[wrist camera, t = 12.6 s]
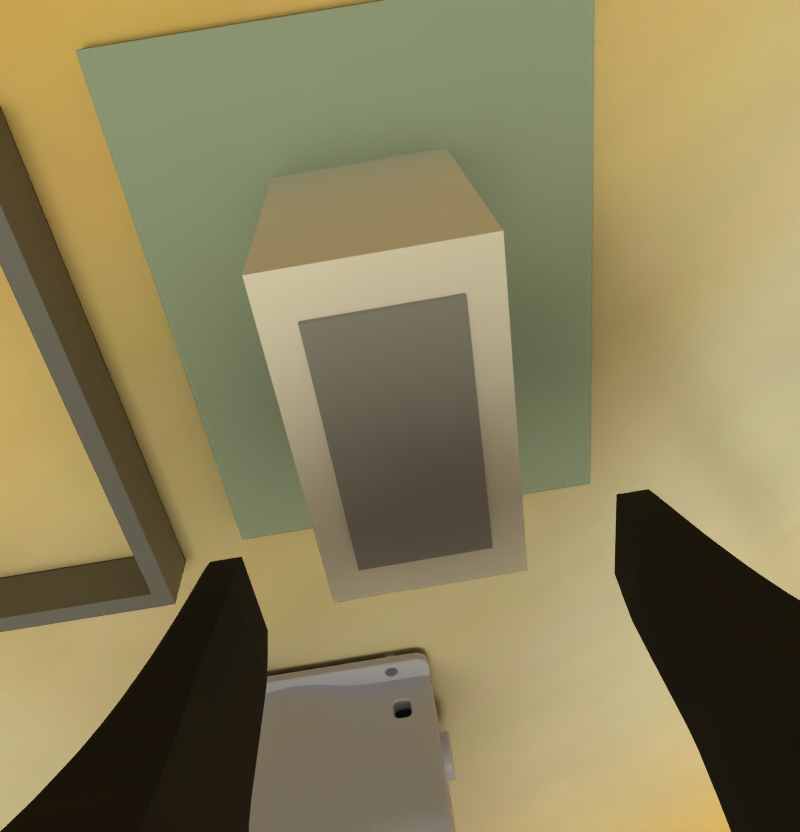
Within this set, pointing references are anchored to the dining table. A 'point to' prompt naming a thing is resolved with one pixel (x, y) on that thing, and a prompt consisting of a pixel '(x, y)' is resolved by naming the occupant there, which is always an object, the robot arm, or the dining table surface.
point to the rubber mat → (346, 144)
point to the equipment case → (80, 430)
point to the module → (393, 369)
